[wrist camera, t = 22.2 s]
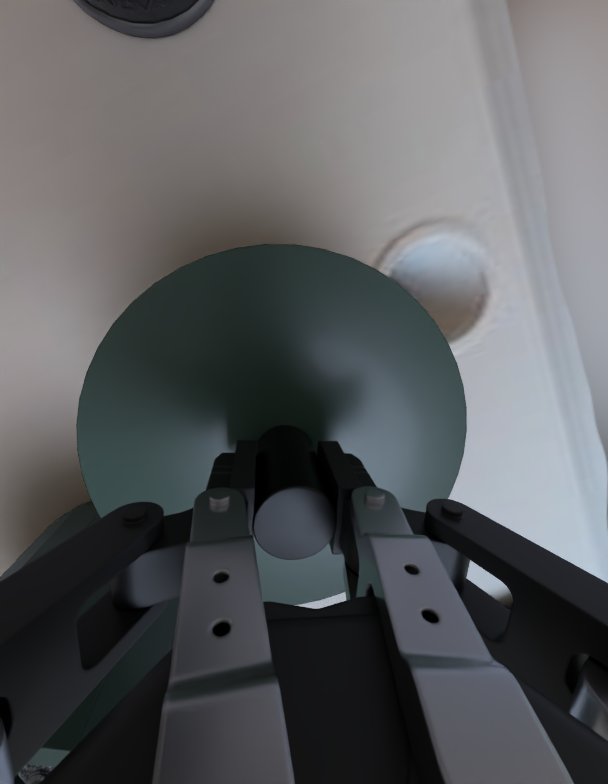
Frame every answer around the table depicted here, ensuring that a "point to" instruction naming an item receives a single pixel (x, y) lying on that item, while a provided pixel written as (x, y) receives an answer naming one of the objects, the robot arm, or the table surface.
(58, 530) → the bin
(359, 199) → the table surface
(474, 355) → the table surface
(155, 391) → the bin lid
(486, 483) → the table surface
